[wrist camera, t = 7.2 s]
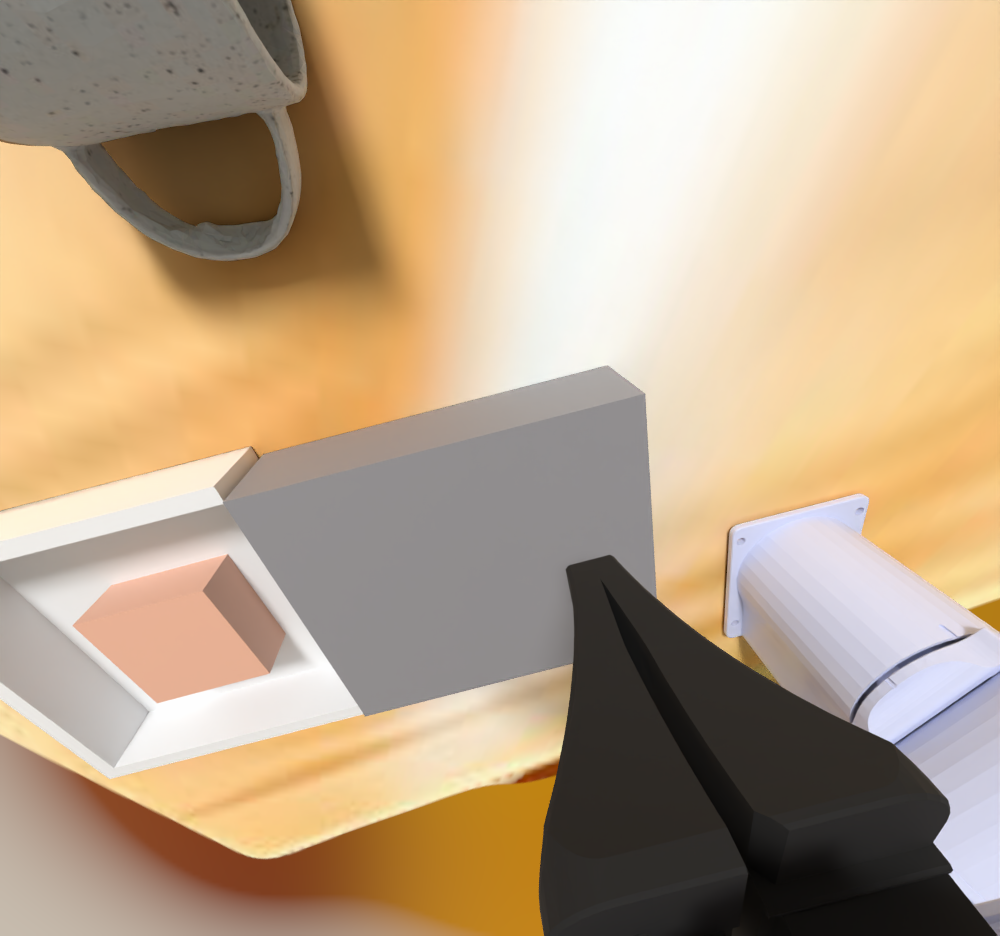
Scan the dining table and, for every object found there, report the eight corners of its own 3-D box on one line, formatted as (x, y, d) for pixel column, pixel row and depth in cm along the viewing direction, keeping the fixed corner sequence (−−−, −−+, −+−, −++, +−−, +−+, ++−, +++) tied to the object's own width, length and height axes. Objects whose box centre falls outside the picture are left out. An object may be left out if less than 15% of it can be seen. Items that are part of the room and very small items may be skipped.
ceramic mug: (-114, -171, 10) (-1119, -900, 4) (206, -264, 10) (-232, -1183, 4) (160, 284, 16) (-49, 323, 9) (372, 225, 16) (320, 221, 9)
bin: (374, 658, 26) (365, 713, 23) (148, 715, 26) (109, 779, 23) (251, 446, 19) (213, 486, 16) (-62, 526, 19) (-160, 582, 16)
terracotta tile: (156, 703, 22) (183, 660, 24) (270, 673, 21) (285, 633, 24) (72, 625, 19) (111, 585, 21) (202, 590, 19) (227, 554, 21)
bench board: (629, 586, 26) (659, 641, 22) (375, 651, 26) (365, 716, 22) (607, 365, 19) (645, 393, 15) (263, 454, 19) (222, 502, 15)
